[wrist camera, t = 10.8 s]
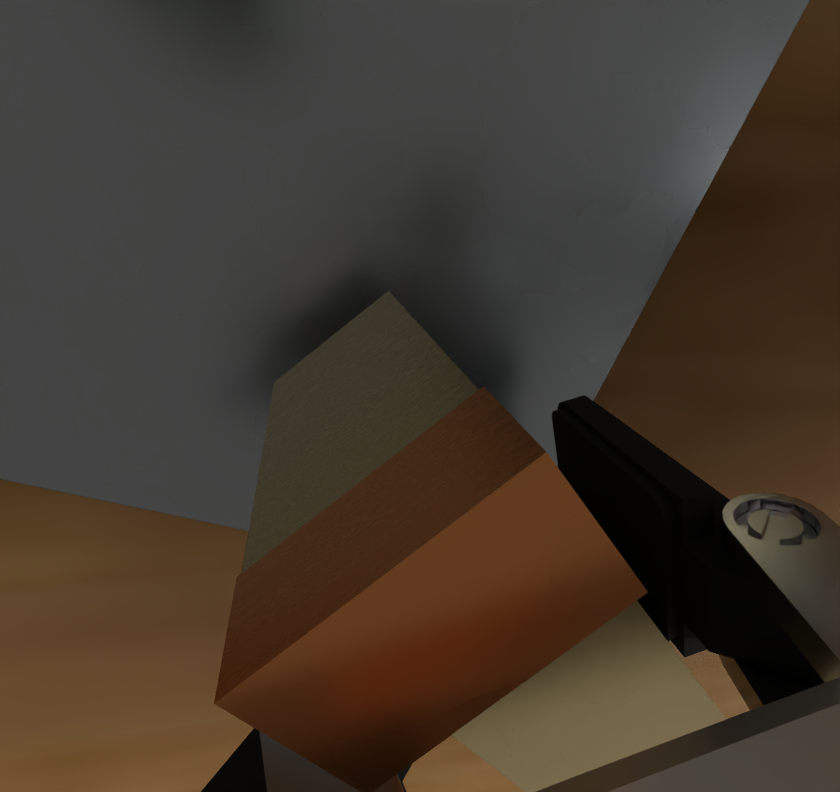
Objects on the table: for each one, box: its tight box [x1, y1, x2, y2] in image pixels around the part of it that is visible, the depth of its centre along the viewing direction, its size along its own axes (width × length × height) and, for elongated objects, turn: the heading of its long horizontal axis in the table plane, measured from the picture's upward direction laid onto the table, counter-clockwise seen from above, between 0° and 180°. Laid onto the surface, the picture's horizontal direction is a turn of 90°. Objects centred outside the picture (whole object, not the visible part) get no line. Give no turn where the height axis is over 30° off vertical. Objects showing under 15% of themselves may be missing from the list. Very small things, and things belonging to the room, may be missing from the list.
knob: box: [214, 291, 726, 792], centre depth 9 cm, size 8×3×8 cm, turn 36°
